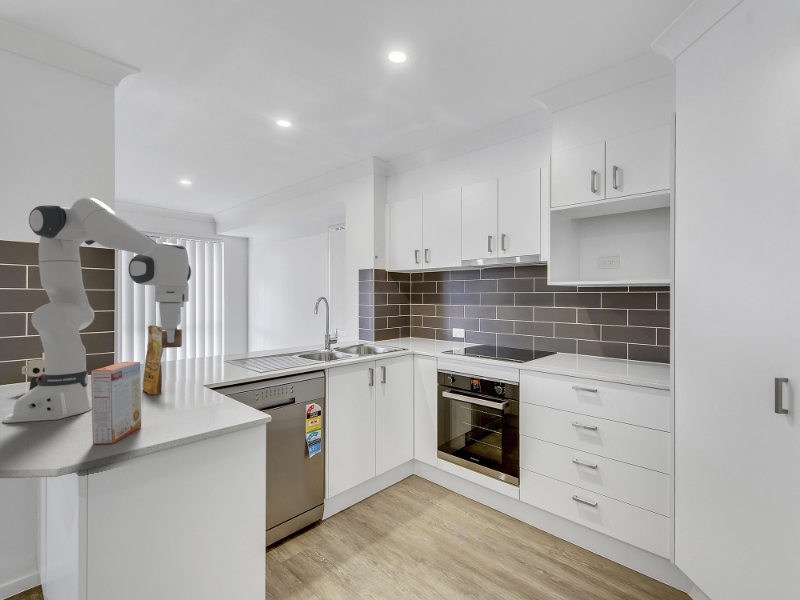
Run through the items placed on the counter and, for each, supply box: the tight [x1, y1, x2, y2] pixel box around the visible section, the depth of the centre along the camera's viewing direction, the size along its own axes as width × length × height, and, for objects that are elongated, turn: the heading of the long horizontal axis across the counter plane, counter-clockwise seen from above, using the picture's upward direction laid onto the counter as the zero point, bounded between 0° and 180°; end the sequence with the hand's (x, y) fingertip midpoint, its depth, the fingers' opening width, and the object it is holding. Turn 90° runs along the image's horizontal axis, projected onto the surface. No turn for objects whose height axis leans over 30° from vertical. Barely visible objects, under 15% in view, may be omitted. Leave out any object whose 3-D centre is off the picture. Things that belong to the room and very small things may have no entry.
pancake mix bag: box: [142, 325, 166, 395], centre depth 167 cm, size 7×19×28 cm, turn 46°
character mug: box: [21, 359, 45, 391], centre depth 166 cm, size 11×7×13 cm, turn 143°
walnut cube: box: [162, 328, 183, 349], centre depth 119 cm, size 5×5×5 cm
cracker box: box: [90, 361, 142, 445], centre depth 114 cm, size 14×6×21 cm, turn 5°
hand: (171, 341), depth 118 cm, fingers closed on walnut cube, 5 cm apart
